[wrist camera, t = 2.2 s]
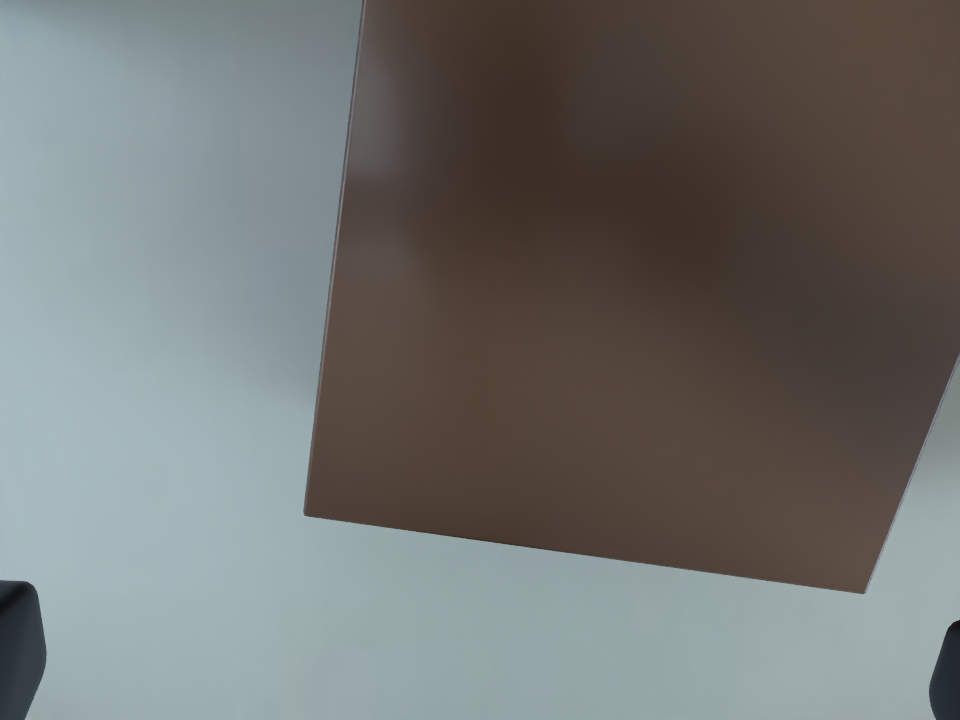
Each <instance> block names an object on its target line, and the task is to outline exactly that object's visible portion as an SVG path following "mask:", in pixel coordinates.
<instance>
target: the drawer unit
mask: <svg viewBox="0 0 960 720" xmlns="http://www.w3.org/2000/svg"><path fill="white" fill-rule="evenodd" d="M959 358H960V0H363V1H362V10H361V18H360V27H359V36H358V44H357V53H356V61H355V70H354V79H353V87H352V96H351V105H350V113H349V122H348V130H347V139H346V148H345V156H344V165H343V174H342V182H341V191H340V199H339V208H338V217H337V225H336V234H335V243H334V251H333V260H332V268H331V277H330V286H329V294H328V303H327V312H326V320H325V329H324V337H323V346H322V355H321V363H320V372H319V381H318V389H317V398H316V407H315V415H314V424H313V432H312V441H311V450H310V458H309V467H308V476H307V484H306V493H305V501H304V510H303V512H304V515H305V516H309V517H316V518H323V519H330V520H337V521H344V522H352V523H359V524H366V525H373V526H380V527H387V528H394V529H402V530H409V531H416V532H423V533H430V534H437V535H445V536H452V537H459V538H466V539H473V540H480V541H487V542H495V543H502V544H509V545H516V546H523V547H530V548H537V549H545V550H552V551H559V552H566V553H573V554H580V555H588V556H595V557H602V558H609V559H616V560H623V561H630V562H638V563H645V564H652V565H659V566H666V567H673V568H680V569H688V570H695V571H702V572H709V573H716V574H723V575H731V576H738V577H745V578H752V579H759V580H766V581H773V582H781V583H788V584H795V585H802V586H809V587H816V588H823V589H831V590H838V591H845V592H852V593H859V594H865V593H866V591H867V588H868V586H869V583H870V581H871V578H872V576H873V573H874V571H875V568H876V566H877V563H878V561H879V558H880V556H881V553H882V551H883V548H884V546H885V543H886V541H887V538H888V536H889V533H890V531H891V528H892V526H893V523H894V521H895V518H896V516H897V513H898V511H899V508H900V506H901V503H902V501H903V498H904V496H905V493H906V491H907V488H908V486H909V483H910V481H911V478H912V476H913V473H914V471H915V468H916V466H917V463H918V461H919V458H920V456H921V453H922V451H923V448H924V446H925V443H926V441H927V438H928V436H929V433H930V431H931V428H932V426H933V423H934V421H935V418H936V416H937V413H938V411H939V408H940V406H941V403H942V401H943V398H944V396H945V393H946V391H947V388H948V386H949V383H950V381H951V378H952V376H953V373H954V371H955V368H956V366H957V363H958V361H959Z"/></svg>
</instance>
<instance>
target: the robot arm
mask: <svg viewBox="0 0 960 720" xmlns="http://www.w3.org/2000/svg"><path fill="white" fill-rule="evenodd" d="M45 664H46V644H45V637H44V631H43V624H42V618H41V611H40V605H39V599H38V594H37V591H36V589H35V587H34V586H33V585H32V584H30V583H28V582H25V581H4V580H0V720H25V717H26V715H27V713H28V710H29V708H30V705H31V703H32V701H33V698H34V696H35V693H36V691H37V689H38V686H39V684H40V681H41V679H42V676H43V673H44V669H45ZM929 697H930V703H931V707H932V711H933V713H934V716H935V718H936V720H960V620H958V621H956V622H954V623H952V625H951V626H950V627H949V628H948V630H947V632H946V635H945V638H944V641H943V644H942V647H941V650H940V654H939V657H938V660H937V663H936V666H935V669H934V672H933V675H932V678H931V681H930V688H929Z"/></svg>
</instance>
